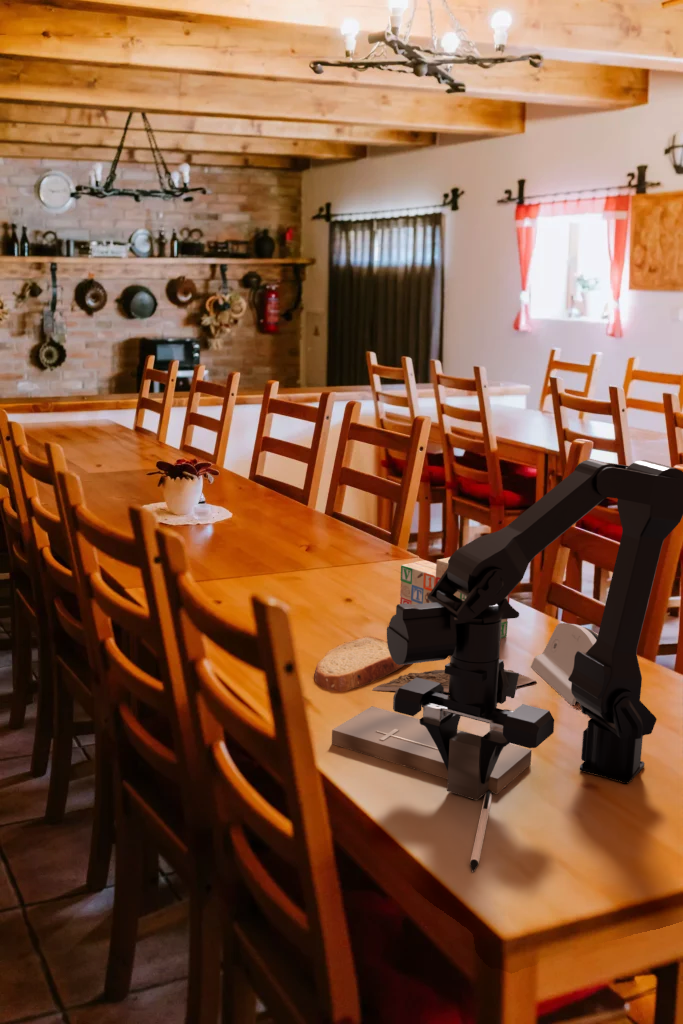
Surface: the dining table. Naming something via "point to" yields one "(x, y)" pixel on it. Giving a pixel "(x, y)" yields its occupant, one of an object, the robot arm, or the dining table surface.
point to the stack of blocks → (428, 584)
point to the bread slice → (355, 664)
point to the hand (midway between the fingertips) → (468, 777)
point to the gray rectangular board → (416, 745)
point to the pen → (481, 831)
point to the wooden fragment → (433, 676)
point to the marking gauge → (465, 766)
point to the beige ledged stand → (563, 657)
